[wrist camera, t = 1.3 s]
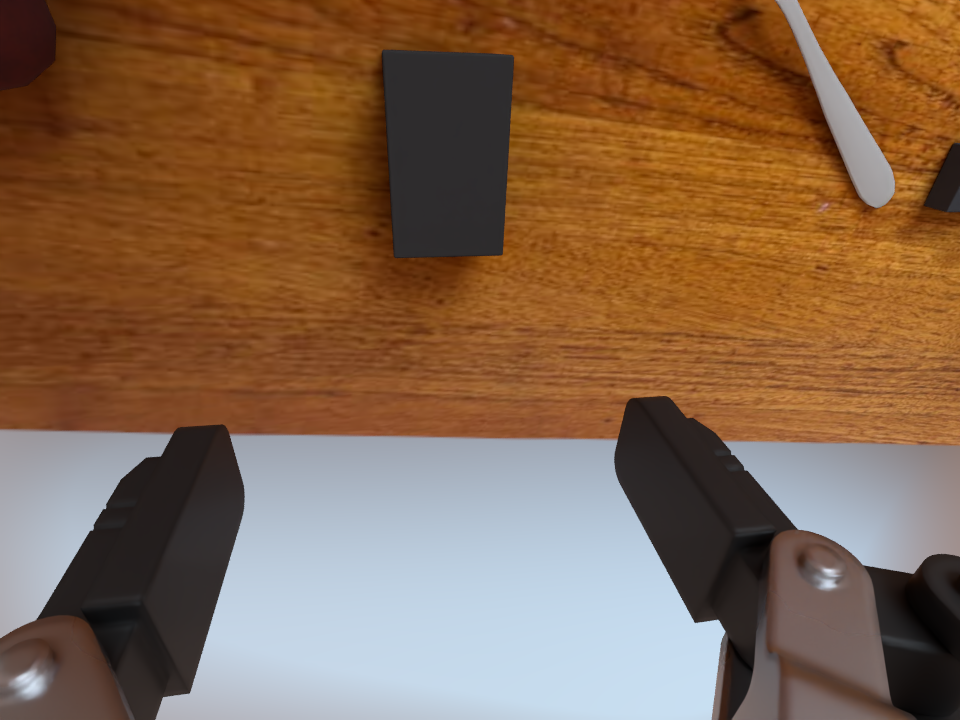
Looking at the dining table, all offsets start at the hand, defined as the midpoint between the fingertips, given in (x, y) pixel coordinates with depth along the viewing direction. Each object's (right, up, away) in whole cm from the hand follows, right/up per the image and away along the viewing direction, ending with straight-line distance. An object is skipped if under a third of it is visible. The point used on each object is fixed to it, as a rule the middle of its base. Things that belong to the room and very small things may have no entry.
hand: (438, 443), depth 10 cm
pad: (-1, +12, +14) cm, 18 cm away
